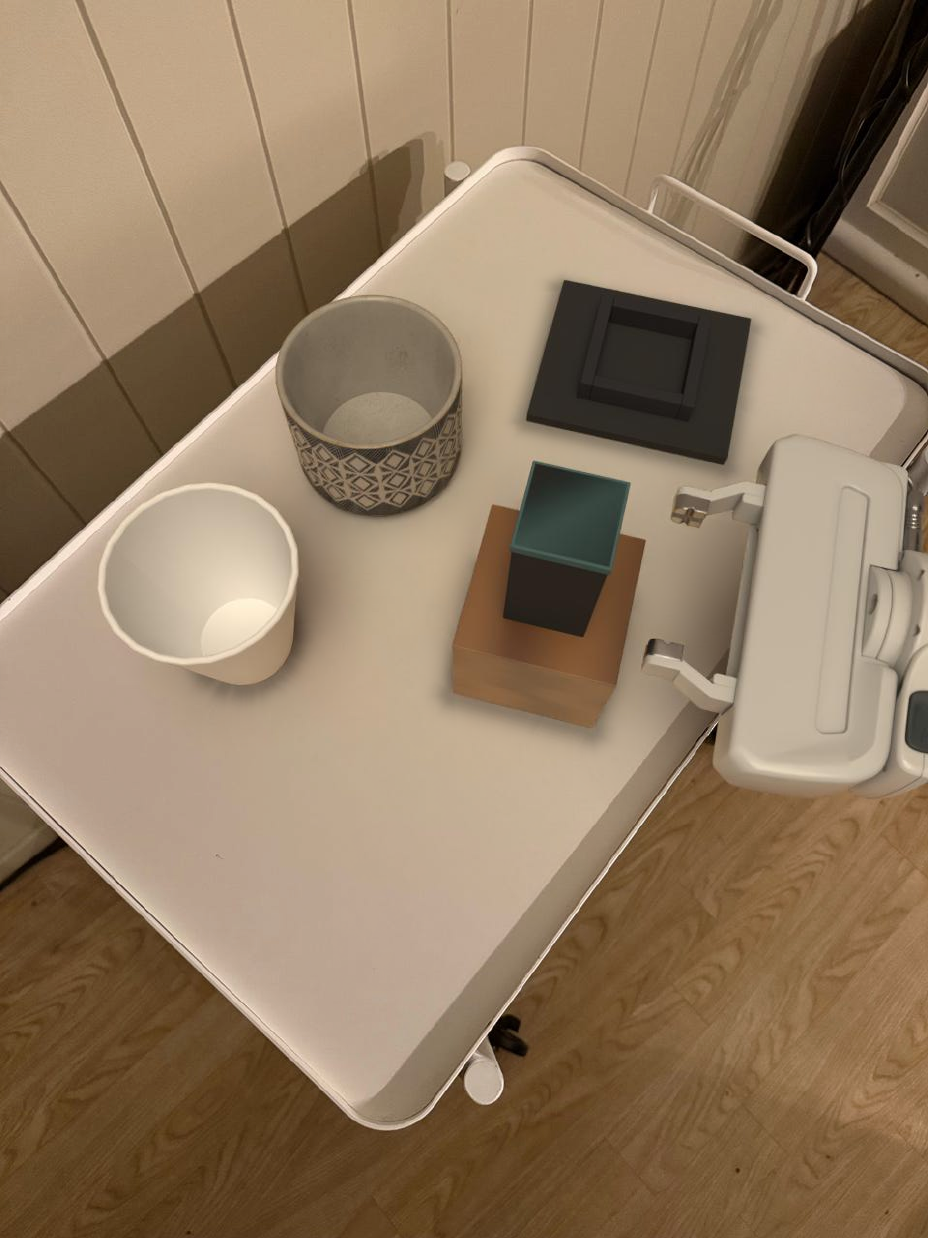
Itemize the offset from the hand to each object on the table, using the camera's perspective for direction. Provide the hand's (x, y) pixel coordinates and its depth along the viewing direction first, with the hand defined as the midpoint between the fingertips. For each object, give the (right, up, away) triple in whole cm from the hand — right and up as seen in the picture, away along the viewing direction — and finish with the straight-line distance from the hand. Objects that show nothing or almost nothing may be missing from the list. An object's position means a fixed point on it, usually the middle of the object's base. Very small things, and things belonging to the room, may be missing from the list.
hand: (659, 576), depth 48 cm
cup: (-27, -4, +15) cm, 31 cm away
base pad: (+4, +18, +24) cm, 30 cm away
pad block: (-5, -1, +6) cm, 8 cm away
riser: (-5, -4, +15) cm, 17 cm away
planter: (-17, +11, +21) cm, 29 cm away
